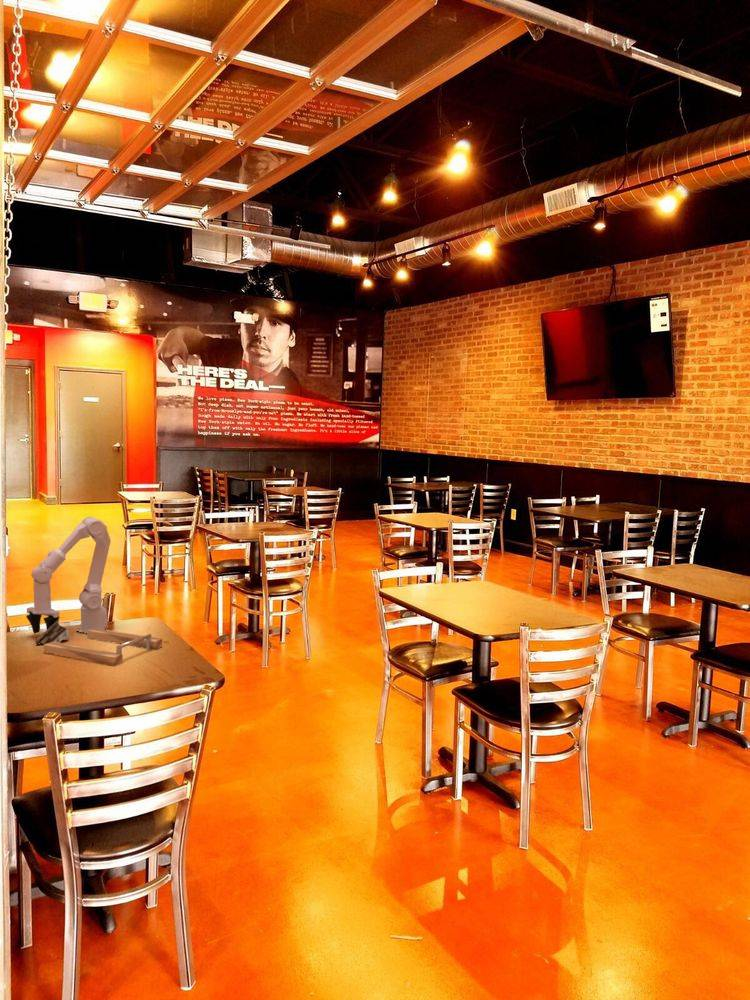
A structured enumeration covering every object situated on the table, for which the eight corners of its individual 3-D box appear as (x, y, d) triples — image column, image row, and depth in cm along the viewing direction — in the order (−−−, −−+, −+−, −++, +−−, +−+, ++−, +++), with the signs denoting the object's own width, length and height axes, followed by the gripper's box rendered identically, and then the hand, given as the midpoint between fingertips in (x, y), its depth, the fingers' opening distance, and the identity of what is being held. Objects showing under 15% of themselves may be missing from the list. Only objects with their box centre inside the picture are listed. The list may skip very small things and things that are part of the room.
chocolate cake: (49, 649, 265) (70, 622, 272) (33, 642, 267) (54, 614, 273) (58, 660, 273) (78, 633, 279) (43, 653, 275) (63, 626, 281)
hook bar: (149, 648, 266) (148, 633, 266) (151, 649, 266) (151, 634, 265) (116, 661, 252) (116, 645, 251) (119, 662, 251) (119, 646, 250)
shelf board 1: (52, 649, 264) (52, 641, 263) (122, 662, 250) (122, 654, 250) (43, 653, 260) (43, 644, 260) (113, 666, 247) (113, 657, 247)
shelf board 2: (95, 635, 282) (95, 627, 281) (162, 646, 269) (162, 638, 268) (87, 638, 278) (87, 630, 278) (154, 649, 265) (154, 641, 265)
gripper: (19, 598, 275) (20, 634, 277) (47, 602, 269) (49, 639, 271) (35, 594, 282) (36, 629, 283) (63, 598, 276) (64, 634, 277)
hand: (43, 633), depth 277 cm, fingers open, 7 cm apart
